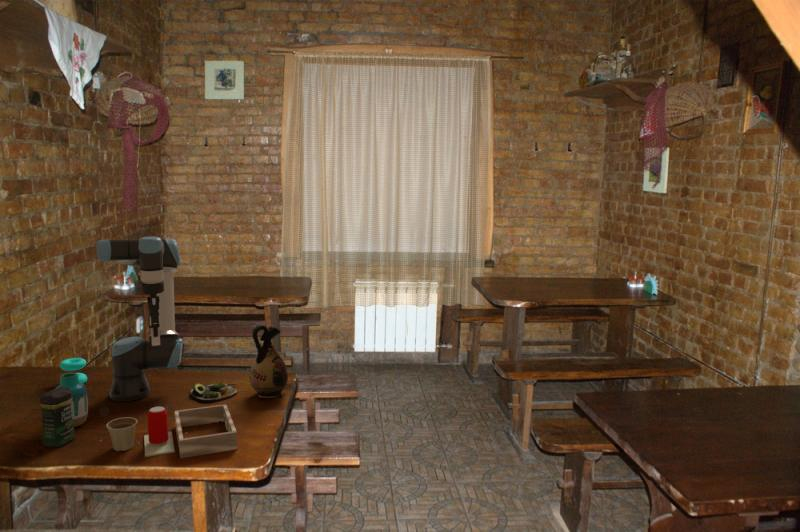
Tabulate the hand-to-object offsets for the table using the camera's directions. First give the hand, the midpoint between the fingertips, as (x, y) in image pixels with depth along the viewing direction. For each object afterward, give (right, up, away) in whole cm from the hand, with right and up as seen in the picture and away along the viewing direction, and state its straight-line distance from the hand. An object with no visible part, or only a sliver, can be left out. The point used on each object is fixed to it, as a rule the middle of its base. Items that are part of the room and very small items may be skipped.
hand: (155, 339), depth 220 cm
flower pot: (-5, -35, -13) cm, 38 cm away
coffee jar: (-28, -34, -10) cm, 45 cm away
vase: (-31, -32, +3) cm, 44 cm away
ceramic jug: (+32, -27, +35) cm, 55 cm away
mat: (+6, -34, -11) cm, 36 cm away
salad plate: (+10, -27, +35) cm, 45 cm away
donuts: (-53, -24, +45) cm, 73 cm away
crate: (+19, -33, -5) cm, 39 cm away
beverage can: (+6, -34, -11) cm, 36 cm away
